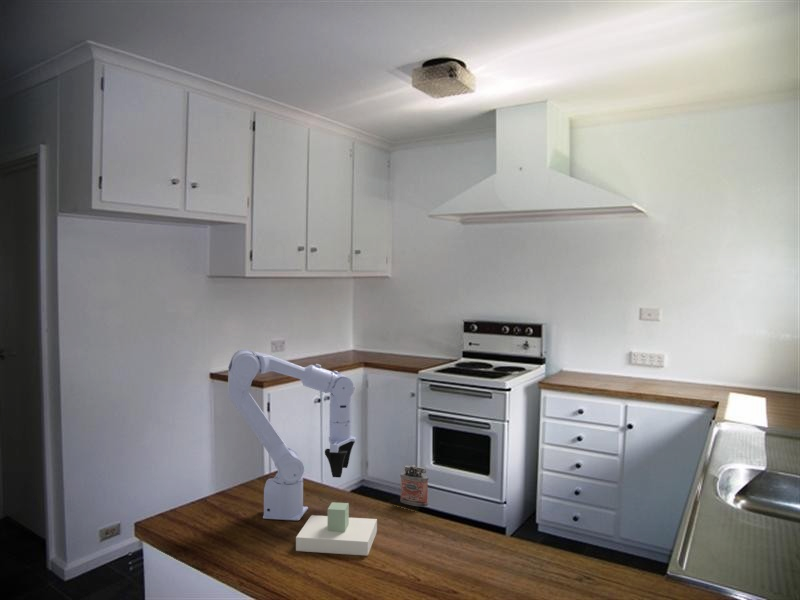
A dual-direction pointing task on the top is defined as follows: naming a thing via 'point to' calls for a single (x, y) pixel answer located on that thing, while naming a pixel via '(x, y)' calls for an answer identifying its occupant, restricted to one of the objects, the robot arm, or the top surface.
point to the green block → (338, 517)
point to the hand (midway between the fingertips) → (340, 472)
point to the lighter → (414, 486)
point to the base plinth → (337, 536)
